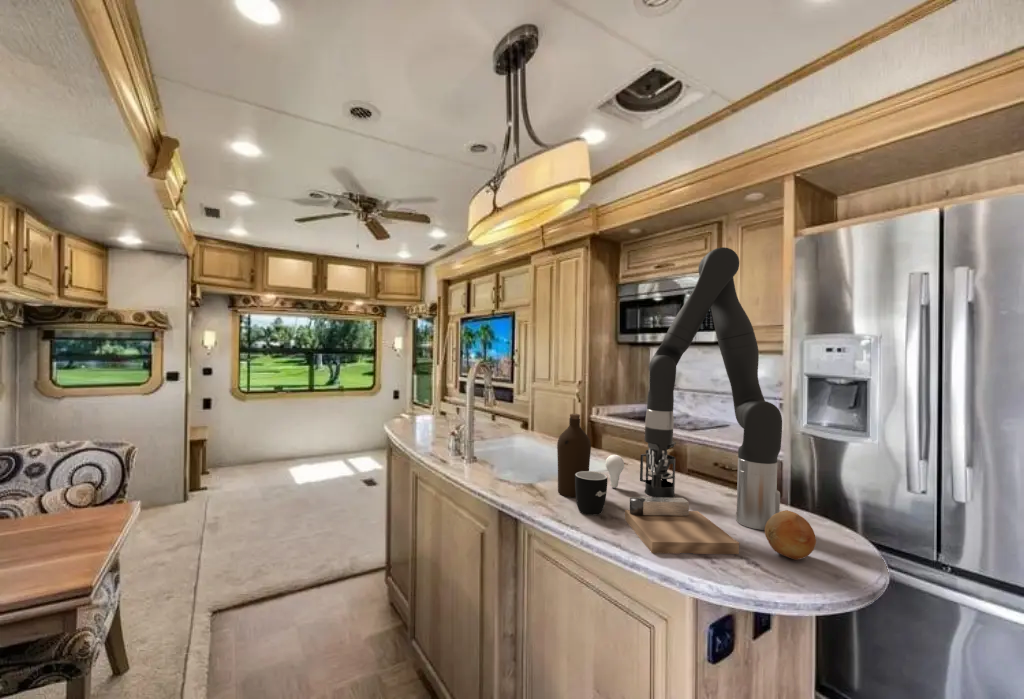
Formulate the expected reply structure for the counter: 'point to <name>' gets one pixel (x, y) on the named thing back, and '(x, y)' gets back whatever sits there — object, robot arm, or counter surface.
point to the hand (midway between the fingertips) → (656, 487)
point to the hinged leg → (659, 506)
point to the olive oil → (572, 455)
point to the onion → (790, 535)
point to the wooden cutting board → (681, 534)
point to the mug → (590, 492)
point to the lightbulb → (614, 469)
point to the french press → (666, 486)
